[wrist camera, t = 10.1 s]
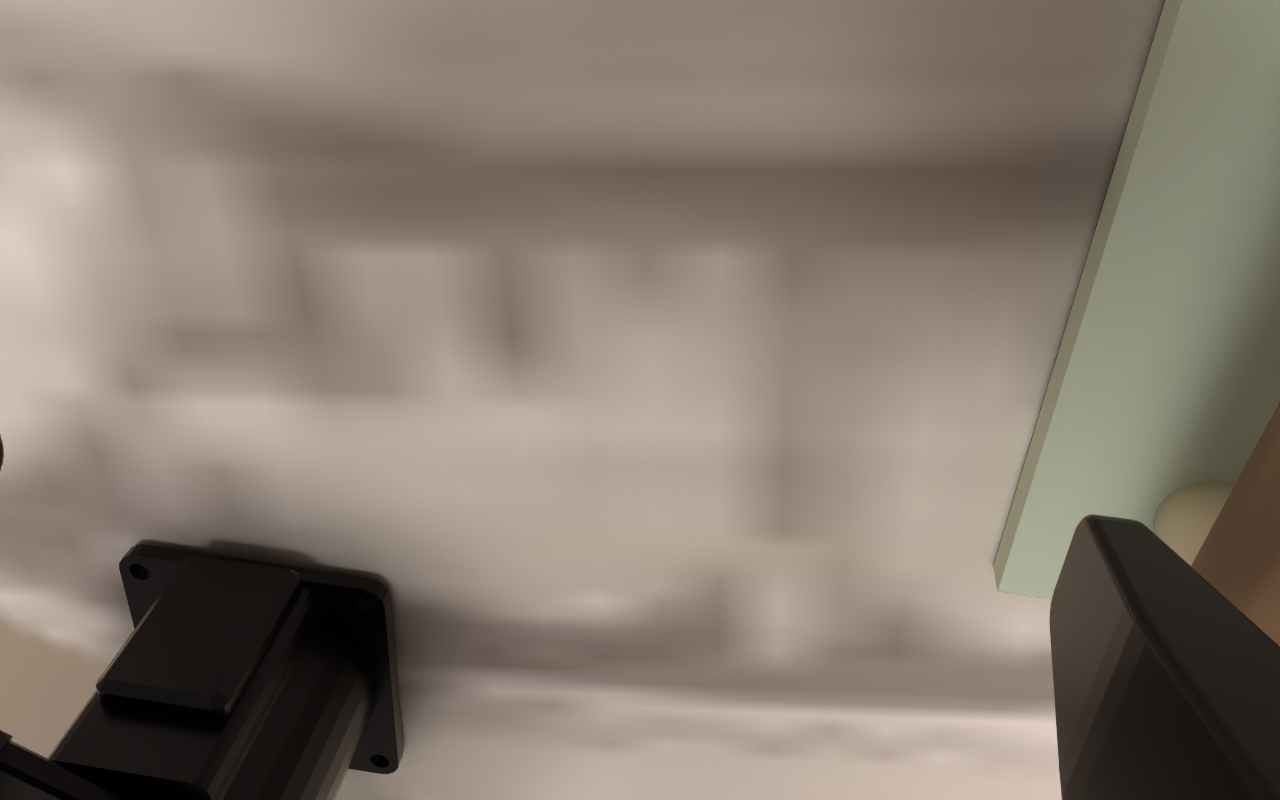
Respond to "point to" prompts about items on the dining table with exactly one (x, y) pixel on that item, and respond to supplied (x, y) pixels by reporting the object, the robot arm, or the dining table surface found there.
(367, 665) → the robot arm
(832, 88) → the dining table surface
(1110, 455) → the strip
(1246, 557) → the brown rectangular block
